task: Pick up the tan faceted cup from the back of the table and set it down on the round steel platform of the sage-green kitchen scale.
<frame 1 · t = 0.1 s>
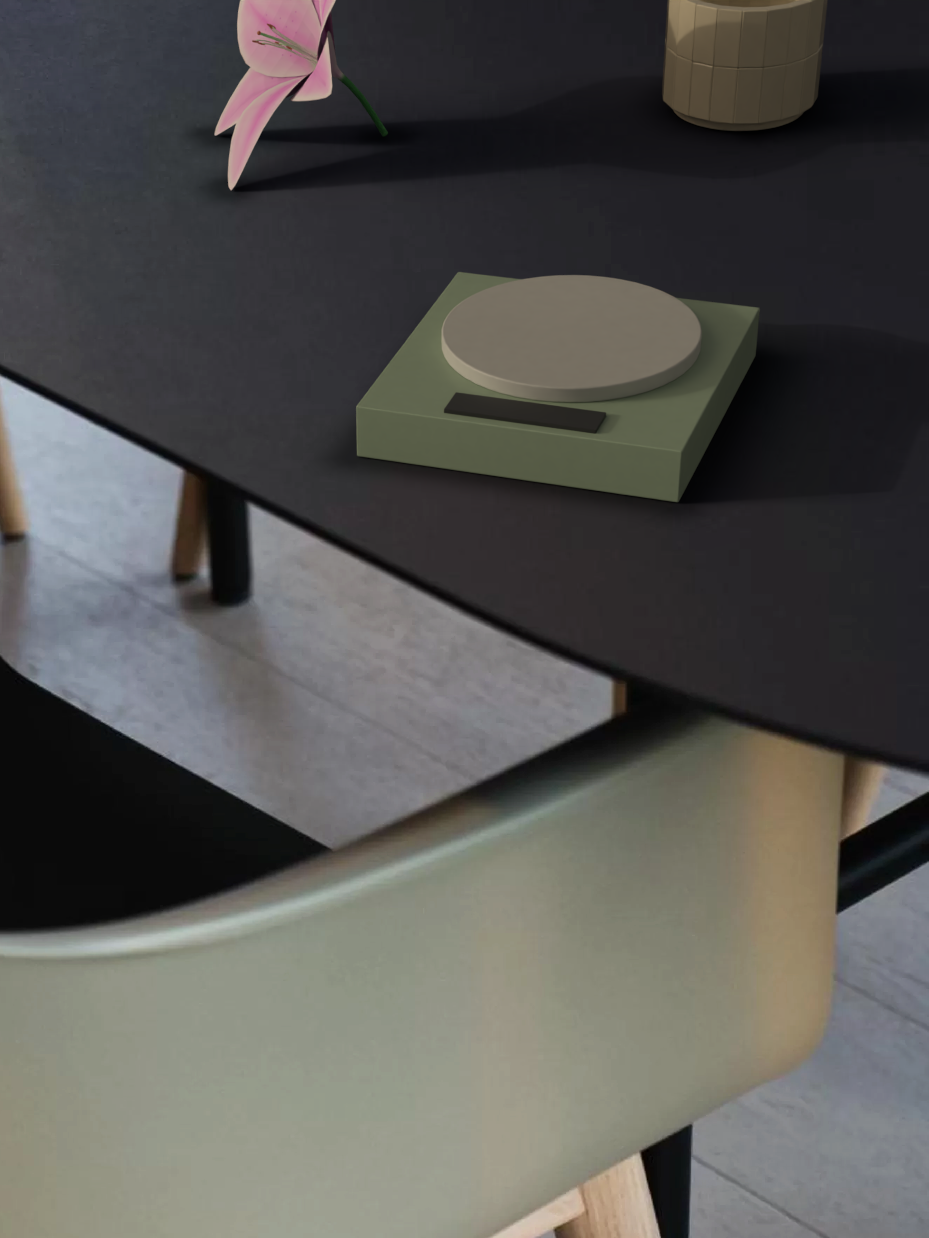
tan faceted cup: (738, 106, 116), on the table
lily: (297, 152, 115), on the table
scale: (561, 405, 95), on the table
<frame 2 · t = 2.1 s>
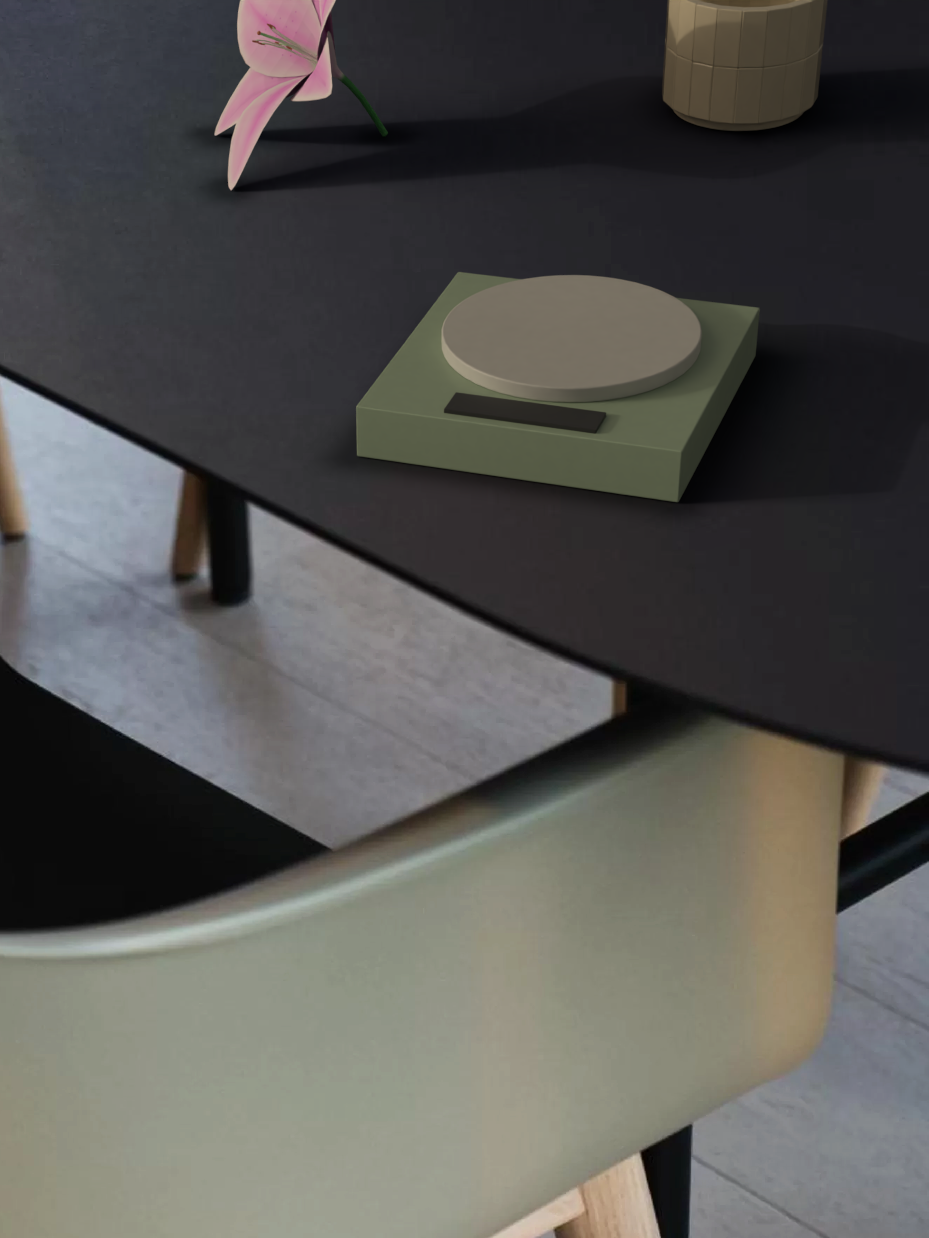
nothing on the table moved.
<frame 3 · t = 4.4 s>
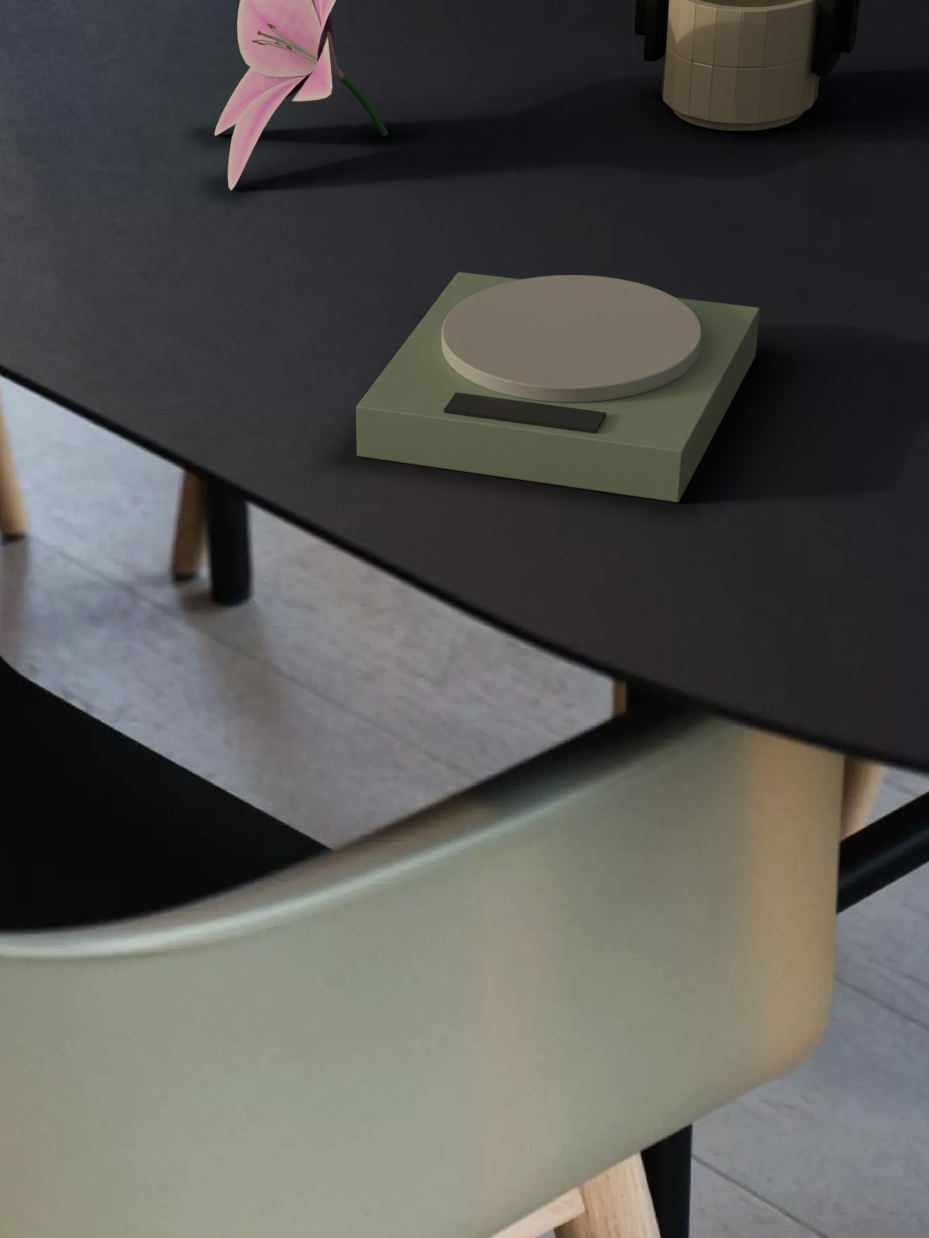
hand: (742, 55, 115), 2 cm above the table, tool pointing down, fingers closed on tan faceted cup, 7 cm apart
tan faceted cup: (738, 106, 116), on the table, touching gripper
everything else where it was.
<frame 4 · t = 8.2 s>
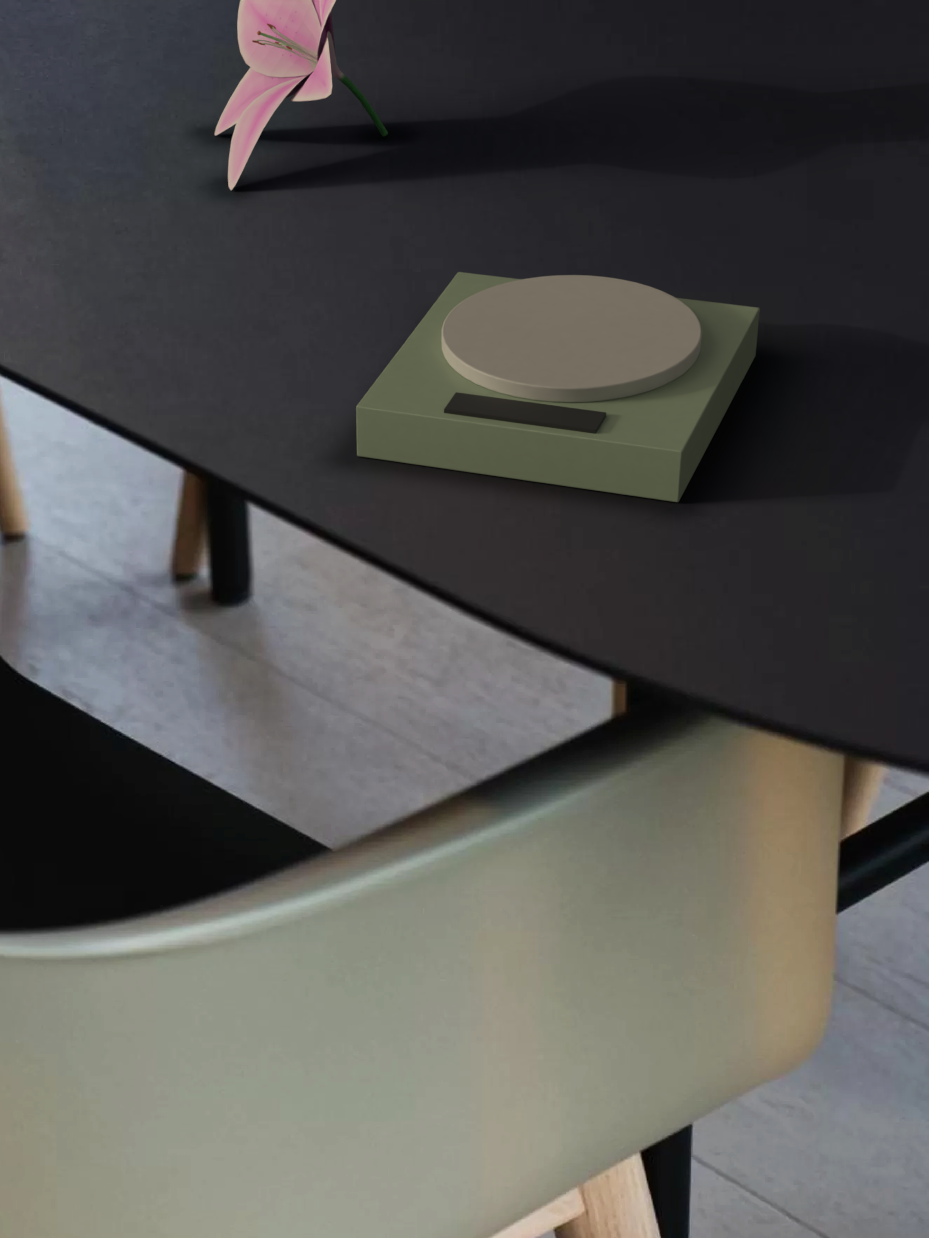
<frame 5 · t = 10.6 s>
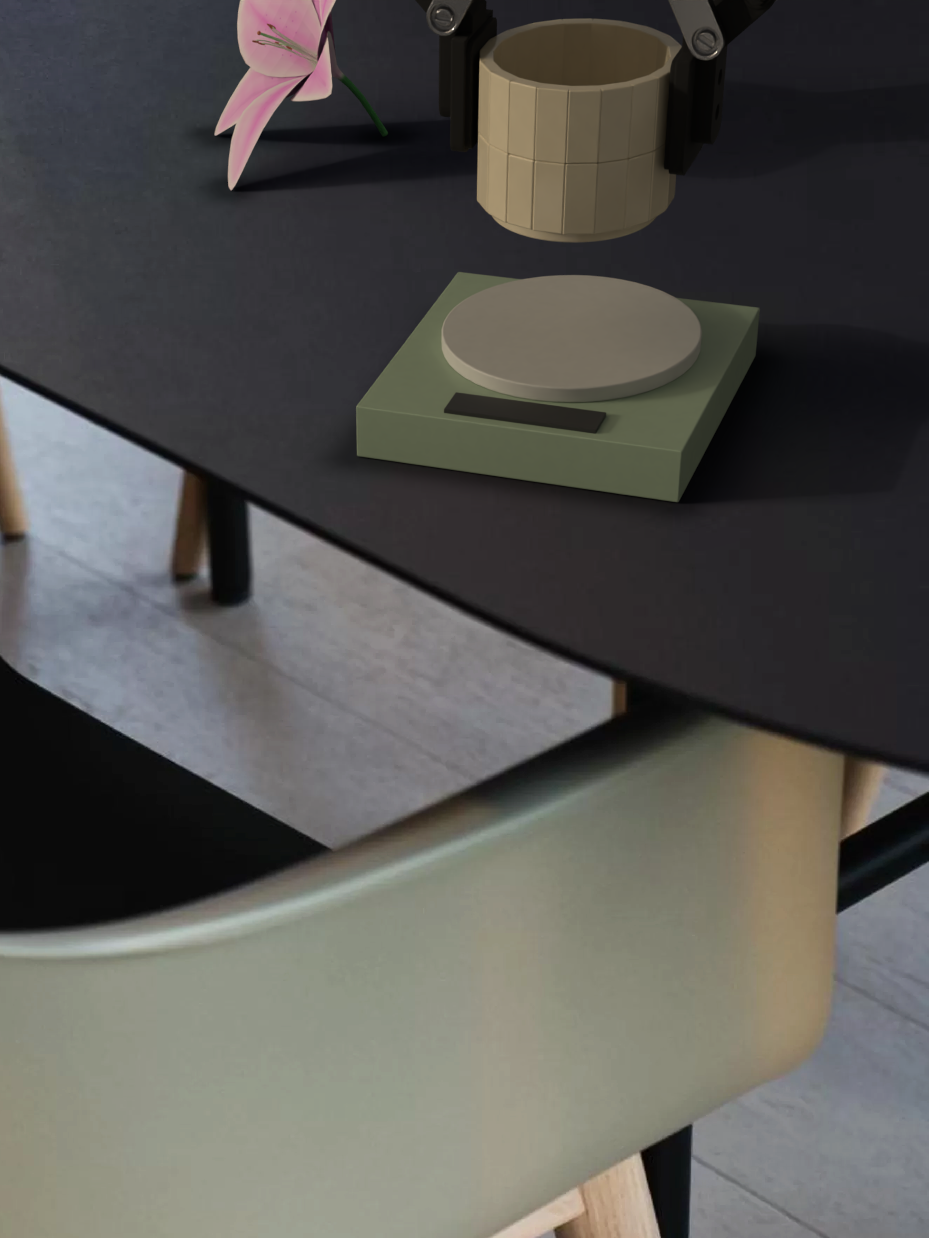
hand: (577, 144, 89), 9 cm above the table, tool pointing down, fingers closed on tan faceted cup, 7 cm apart
tan faceted cup: (574, 207, 91), point 7 cm above the table, touching gripper
everything else where it was.
when the fingers open (5 cm above the table, at t = 12.5 s): tan faceted cup moves 1 cm, resting on scale.
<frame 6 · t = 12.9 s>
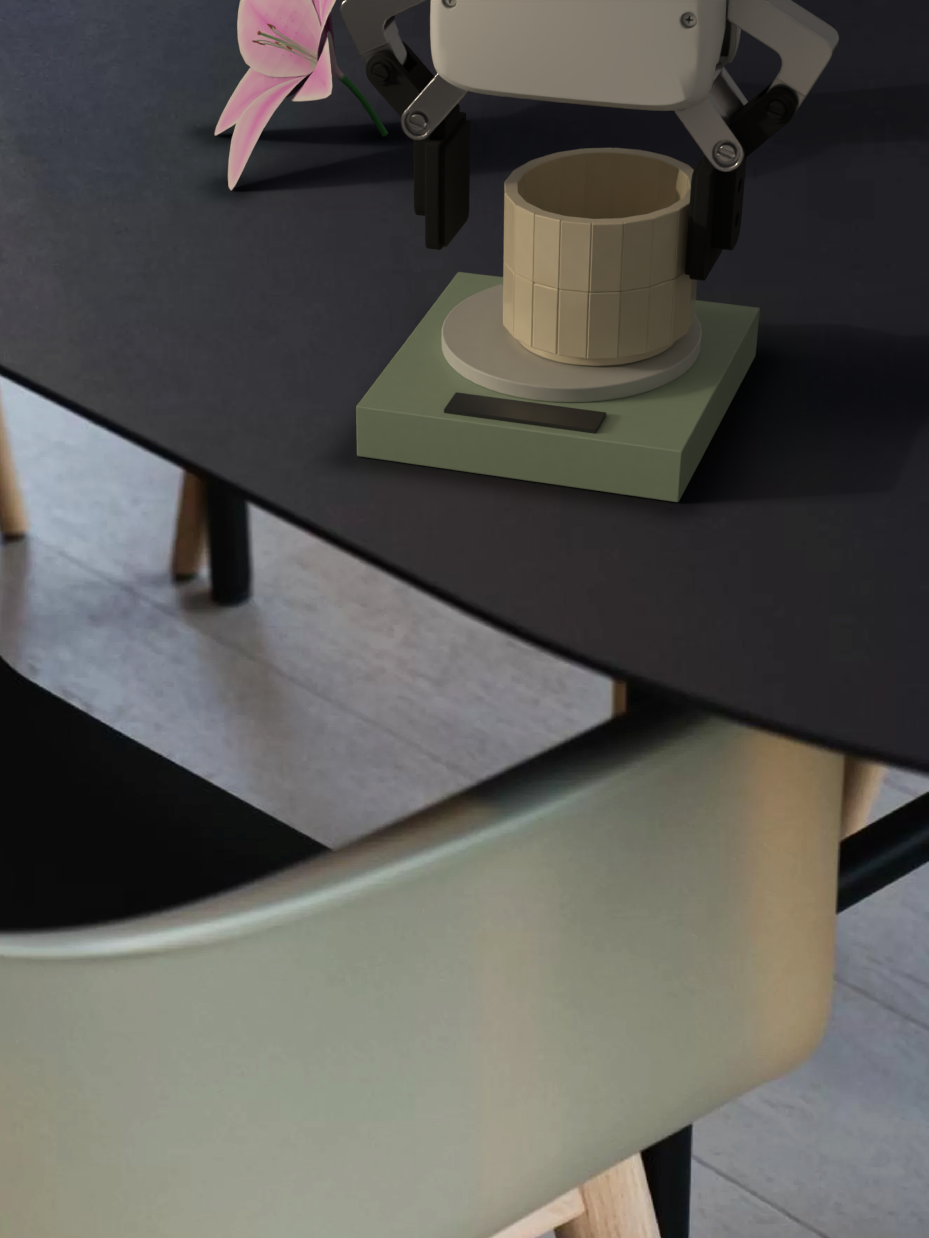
hand: (573, 249, 92), 6 cm above the table, tool pointing down, fingers open, 9 cm apart
tan faceted cup: (597, 329, 93), point 3 cm above the table, touching gripper, scale
everything else where it was.
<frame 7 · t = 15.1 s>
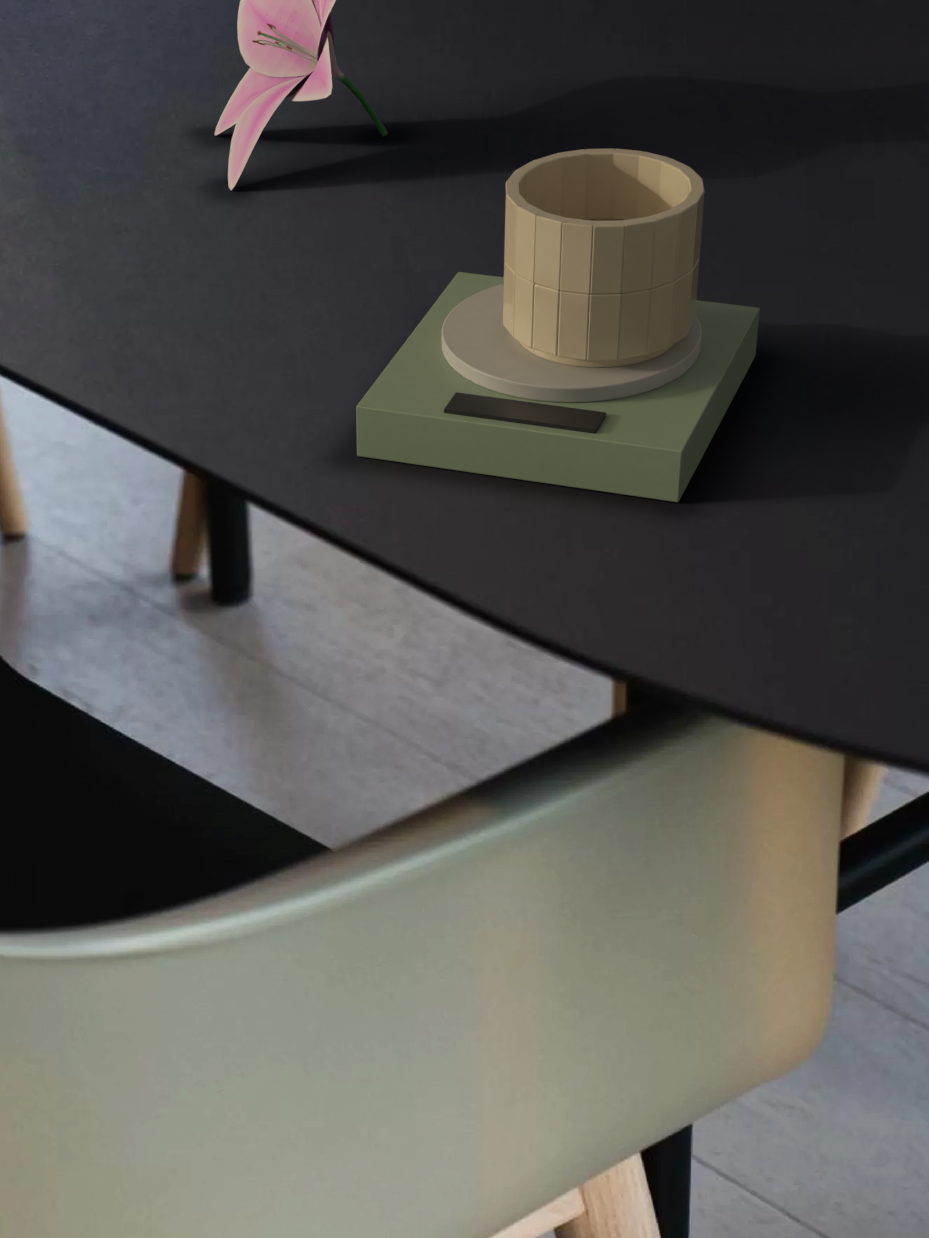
tan faceted cup: (597, 330, 93), point 3 cm above the table, touching scale
everything else where it was.
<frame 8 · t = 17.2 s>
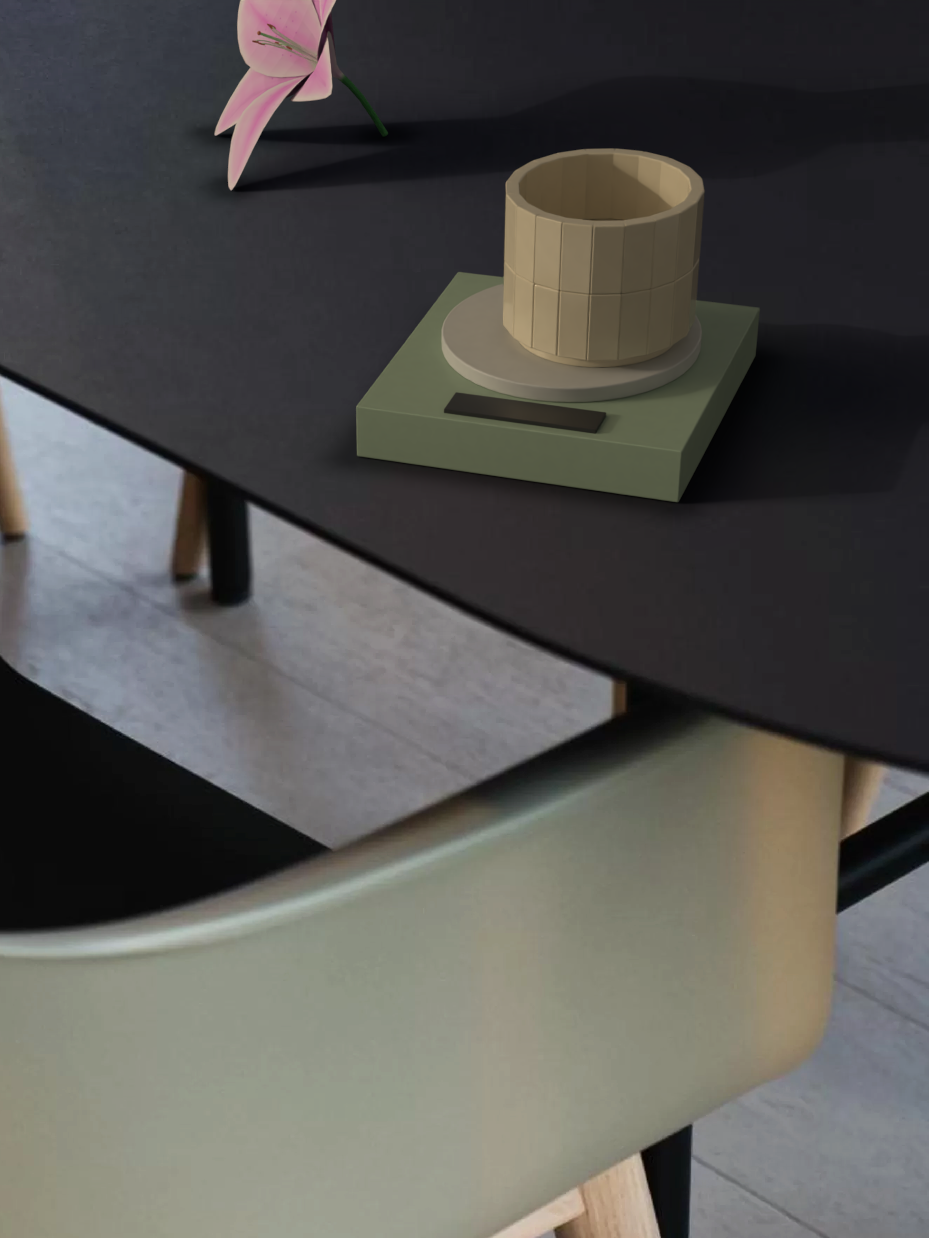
nothing on the table moved.
at the end: tan faceted cup inside the target area on the scale (1.2 cm from its centre), point 2.6 cm above the scale's base; tan faceted cup tilted 0°; the gripper is holding nothing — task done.
